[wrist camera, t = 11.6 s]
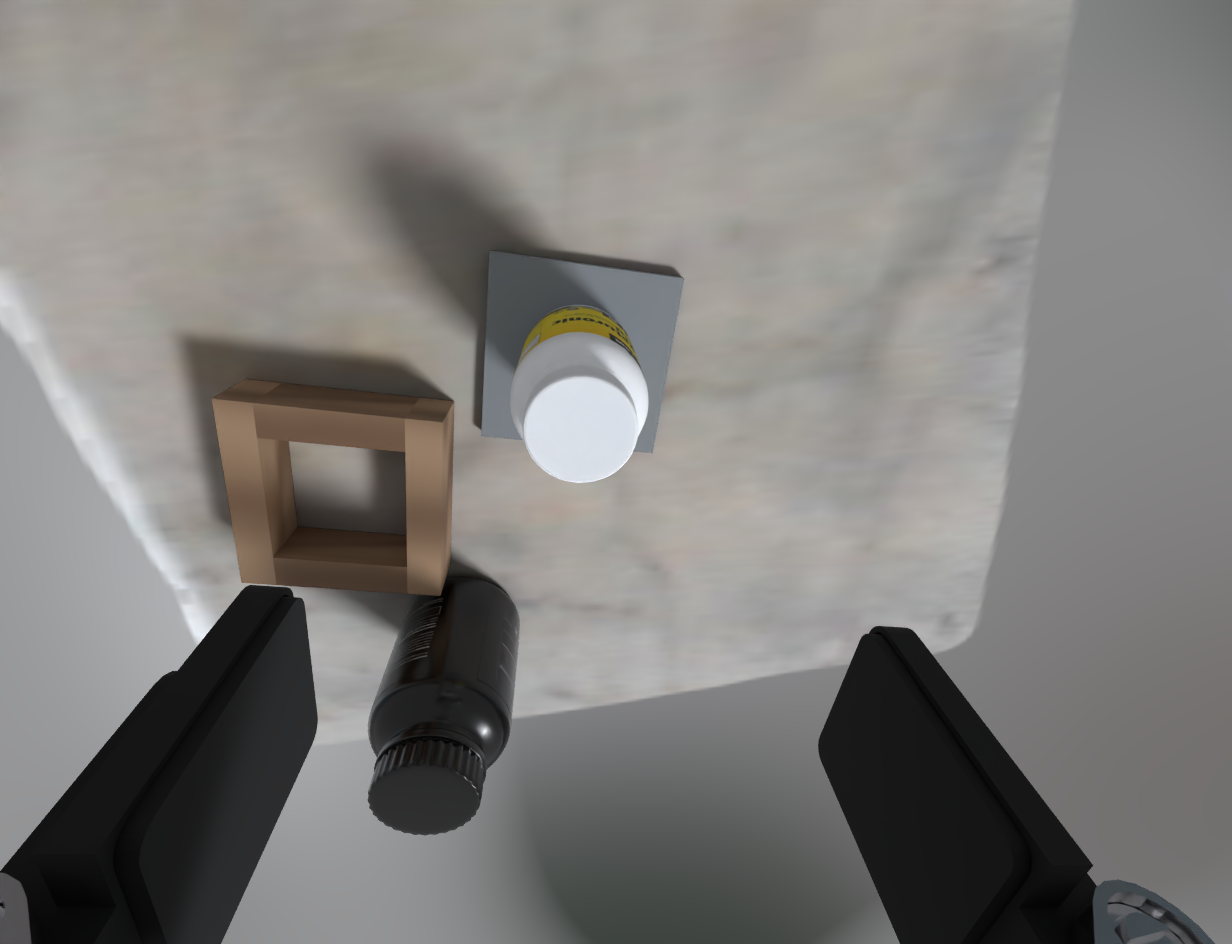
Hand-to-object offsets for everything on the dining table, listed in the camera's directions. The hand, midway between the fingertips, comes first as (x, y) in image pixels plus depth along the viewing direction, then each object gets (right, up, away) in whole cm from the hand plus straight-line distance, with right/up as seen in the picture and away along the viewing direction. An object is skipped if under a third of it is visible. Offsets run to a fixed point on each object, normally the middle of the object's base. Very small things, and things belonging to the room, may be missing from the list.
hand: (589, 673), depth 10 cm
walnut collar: (-13, +3, +21) cm, 25 cm away
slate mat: (-1, +9, +19) cm, 22 cm away
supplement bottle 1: (-9, -5, +26) cm, 28 cm away
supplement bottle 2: (-1, +9, +19) cm, 21 cm away
